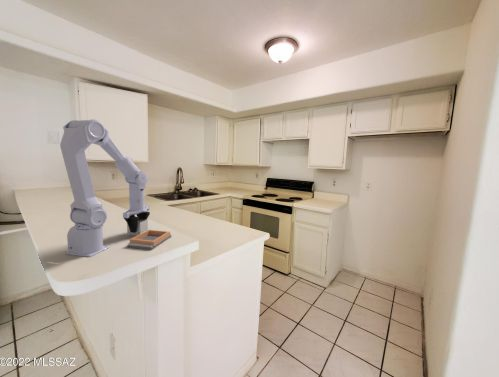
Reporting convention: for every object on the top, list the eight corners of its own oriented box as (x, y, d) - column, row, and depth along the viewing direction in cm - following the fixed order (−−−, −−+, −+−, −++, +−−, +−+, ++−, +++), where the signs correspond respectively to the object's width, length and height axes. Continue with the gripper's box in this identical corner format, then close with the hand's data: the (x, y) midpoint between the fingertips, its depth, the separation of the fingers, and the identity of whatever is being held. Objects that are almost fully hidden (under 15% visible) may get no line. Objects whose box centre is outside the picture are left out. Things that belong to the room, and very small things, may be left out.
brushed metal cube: (127, 235, 87) (127, 221, 87) (135, 231, 92) (135, 218, 92) (140, 236, 87) (140, 222, 86) (147, 232, 92) (147, 219, 91)
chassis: (127, 247, 76) (127, 240, 75) (150, 234, 89) (150, 228, 89) (151, 249, 74) (151, 242, 74) (171, 236, 88) (171, 230, 88)
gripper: (134, 203, 80) (134, 236, 82) (155, 197, 94) (156, 226, 96) (117, 201, 81) (118, 235, 83) (141, 196, 95) (142, 224, 97)
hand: (137, 230), depth 89 cm, fingers closed on brushed metal cube, 5 cm apart
